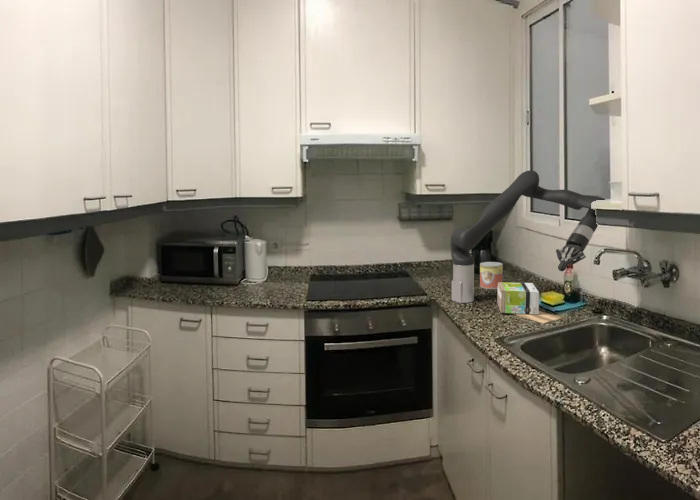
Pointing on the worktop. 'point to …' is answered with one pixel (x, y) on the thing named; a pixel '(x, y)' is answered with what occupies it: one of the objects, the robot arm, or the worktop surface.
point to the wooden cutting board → (540, 317)
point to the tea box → (518, 298)
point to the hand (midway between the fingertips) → (560, 269)
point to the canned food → (490, 274)
